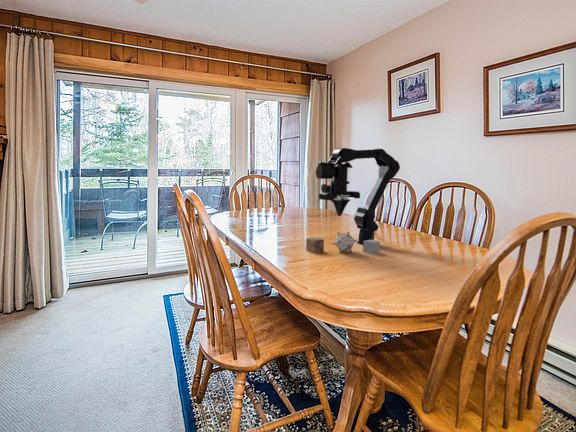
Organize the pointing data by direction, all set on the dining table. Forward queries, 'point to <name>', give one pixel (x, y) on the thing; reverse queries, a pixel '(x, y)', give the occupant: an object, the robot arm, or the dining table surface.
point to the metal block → (314, 244)
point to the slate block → (371, 246)
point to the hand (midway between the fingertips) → (339, 215)
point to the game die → (344, 242)
